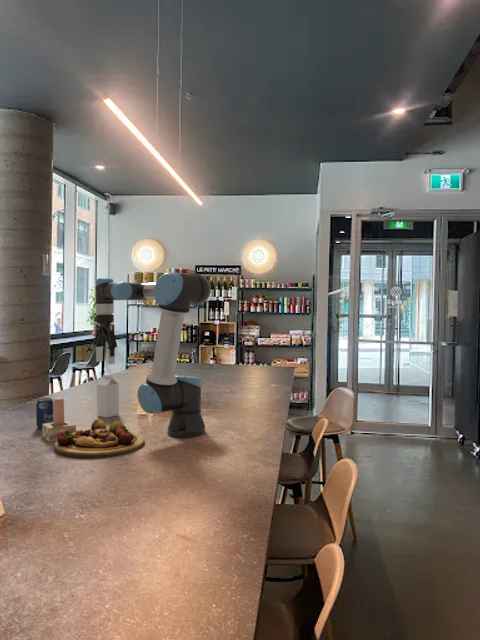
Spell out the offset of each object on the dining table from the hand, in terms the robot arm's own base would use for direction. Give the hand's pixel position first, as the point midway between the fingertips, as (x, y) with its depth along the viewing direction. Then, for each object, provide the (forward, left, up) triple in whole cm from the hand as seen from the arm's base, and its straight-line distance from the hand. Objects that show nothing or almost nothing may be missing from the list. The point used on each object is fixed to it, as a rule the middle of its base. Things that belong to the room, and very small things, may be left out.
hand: (105, 362), depth 213 cm
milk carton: (+15, -7, -27) cm, 32 cm away
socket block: (-10, +23, -27) cm, 37 cm away
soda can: (+9, +23, -27) cm, 37 cm away
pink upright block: (-10, +23, -26) cm, 36 cm away
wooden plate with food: (-31, +14, -27) cm, 44 cm away
